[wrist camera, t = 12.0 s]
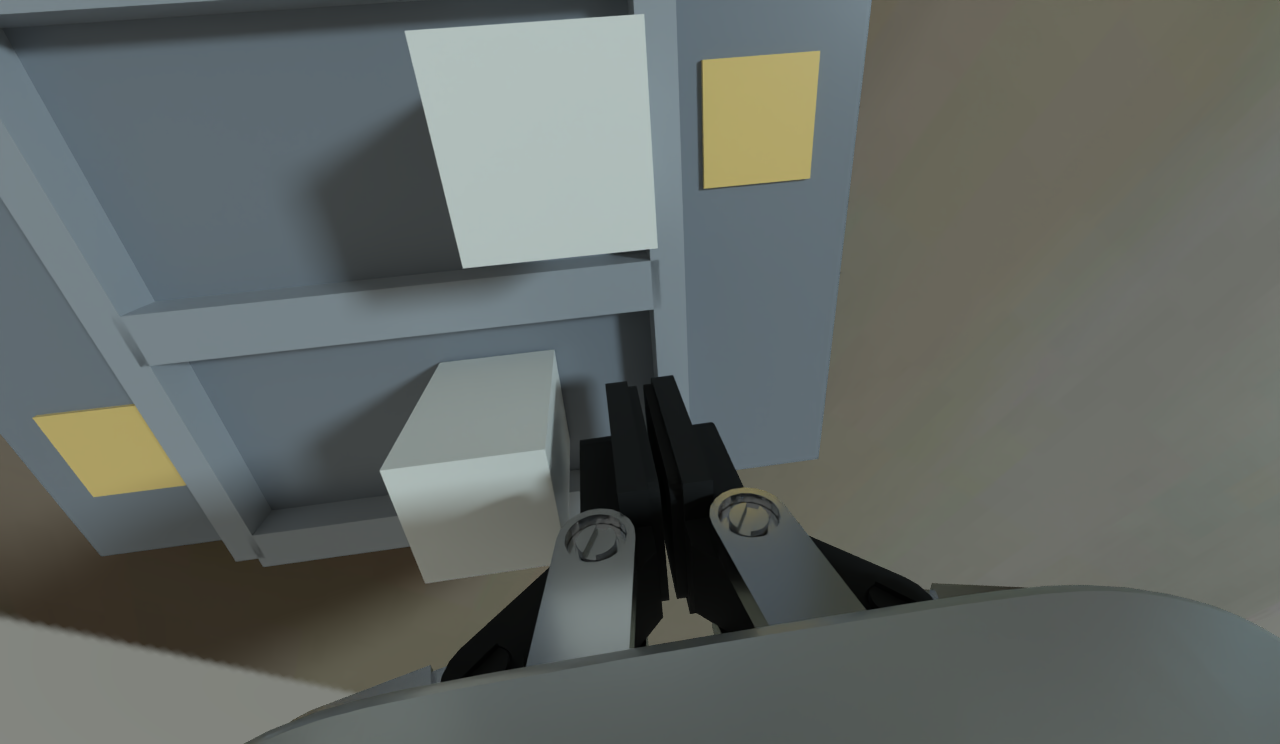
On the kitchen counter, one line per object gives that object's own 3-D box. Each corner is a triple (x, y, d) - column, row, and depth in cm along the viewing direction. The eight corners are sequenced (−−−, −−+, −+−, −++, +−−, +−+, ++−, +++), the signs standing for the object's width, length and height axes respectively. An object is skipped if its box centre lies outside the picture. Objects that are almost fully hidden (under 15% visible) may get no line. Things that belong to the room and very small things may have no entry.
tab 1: (617, 55, 10) (643, 13, 6) (629, 204, 12) (657, 247, 8) (472, 66, 10) (404, 30, 6) (501, 216, 11) (462, 268, 7)
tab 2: (554, 349, 13) (544, 448, 9) (570, 441, 14) (568, 562, 11) (439, 362, 13) (379, 470, 9) (467, 454, 14) (425, 583, 10)
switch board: (895, -604, 8) (1018, -885, 6) (798, 440, 18) (831, 487, 15) (-704, -632, 6) (-1370, -1025, 4) (147, 527, 16) (78, 592, 14)
